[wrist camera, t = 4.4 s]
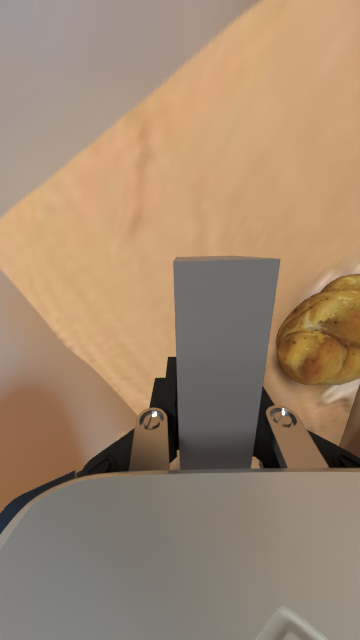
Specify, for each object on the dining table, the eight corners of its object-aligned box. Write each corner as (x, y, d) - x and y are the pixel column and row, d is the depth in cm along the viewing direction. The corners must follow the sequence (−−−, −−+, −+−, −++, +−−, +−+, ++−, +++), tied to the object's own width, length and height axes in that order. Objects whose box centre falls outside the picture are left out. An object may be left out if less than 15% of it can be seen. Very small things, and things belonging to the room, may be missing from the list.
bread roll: (332, 254, 22) (417, 255, 14) (383, 305, 24) (481, 330, 16) (251, 340, 25) (285, 378, 17) (302, 378, 27) (352, 428, 19)
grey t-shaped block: (320, 254, 10) (441, 255, 5) (282, 439, 14) (332, 530, 10) (90, 259, 10) (14, 264, 6) (120, 442, 14) (92, 533, 10)
